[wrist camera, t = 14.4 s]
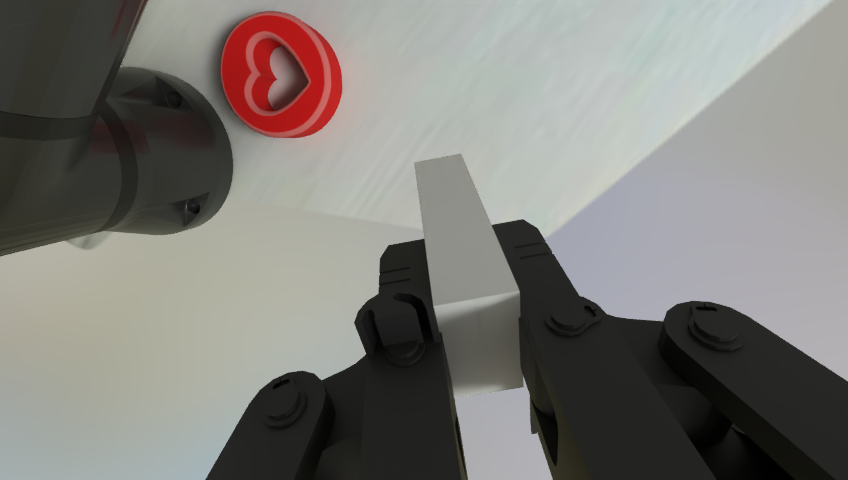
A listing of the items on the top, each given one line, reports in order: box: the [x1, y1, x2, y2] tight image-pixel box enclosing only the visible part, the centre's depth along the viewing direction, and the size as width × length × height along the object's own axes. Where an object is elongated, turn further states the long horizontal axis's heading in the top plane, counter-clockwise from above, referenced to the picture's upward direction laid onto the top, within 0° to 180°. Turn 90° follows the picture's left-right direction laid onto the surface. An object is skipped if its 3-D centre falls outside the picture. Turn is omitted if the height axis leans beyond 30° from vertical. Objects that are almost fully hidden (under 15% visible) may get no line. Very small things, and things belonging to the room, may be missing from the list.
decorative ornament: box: [220, 11, 342, 138], centre depth 32 cm, size 10×10×3 cm
